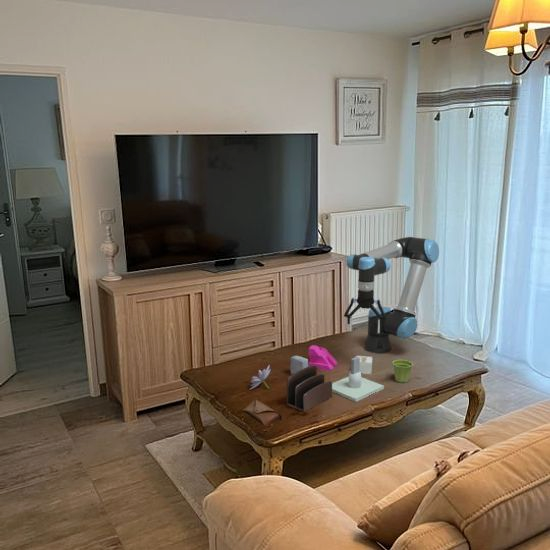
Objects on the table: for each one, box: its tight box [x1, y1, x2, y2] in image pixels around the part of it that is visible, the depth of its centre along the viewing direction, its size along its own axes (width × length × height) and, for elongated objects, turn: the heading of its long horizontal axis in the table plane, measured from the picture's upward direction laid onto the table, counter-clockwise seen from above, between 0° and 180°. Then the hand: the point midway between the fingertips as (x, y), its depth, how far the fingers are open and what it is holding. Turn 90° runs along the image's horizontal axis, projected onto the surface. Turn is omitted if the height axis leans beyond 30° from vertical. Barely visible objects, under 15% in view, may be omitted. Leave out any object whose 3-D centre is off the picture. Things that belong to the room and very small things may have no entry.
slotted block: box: [355, 355, 373, 375], centre depth 280 cm, size 8×8×6 cm
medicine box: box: [290, 355, 309, 375], centre depth 275 cm, size 8×4×9 cm, turn 47°
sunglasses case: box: [241, 398, 282, 426], centre depth 236 cm, size 18×7×7 cm, turn 38°
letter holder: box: [286, 365, 333, 413], centre depth 246 cm, size 10×20×14 cm, turn 137°
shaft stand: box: [332, 356, 385, 403], centre depth 258 cm, size 20×18×15 cm
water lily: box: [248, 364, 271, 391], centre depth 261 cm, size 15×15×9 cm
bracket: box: [308, 344, 339, 372], centre depth 286 cm, size 12×10×10 cm
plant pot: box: [392, 359, 414, 383], centre depth 268 cm, size 9×9×9 cm
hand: (364, 331), depth 276 cm, fingers open, 13 cm apart
